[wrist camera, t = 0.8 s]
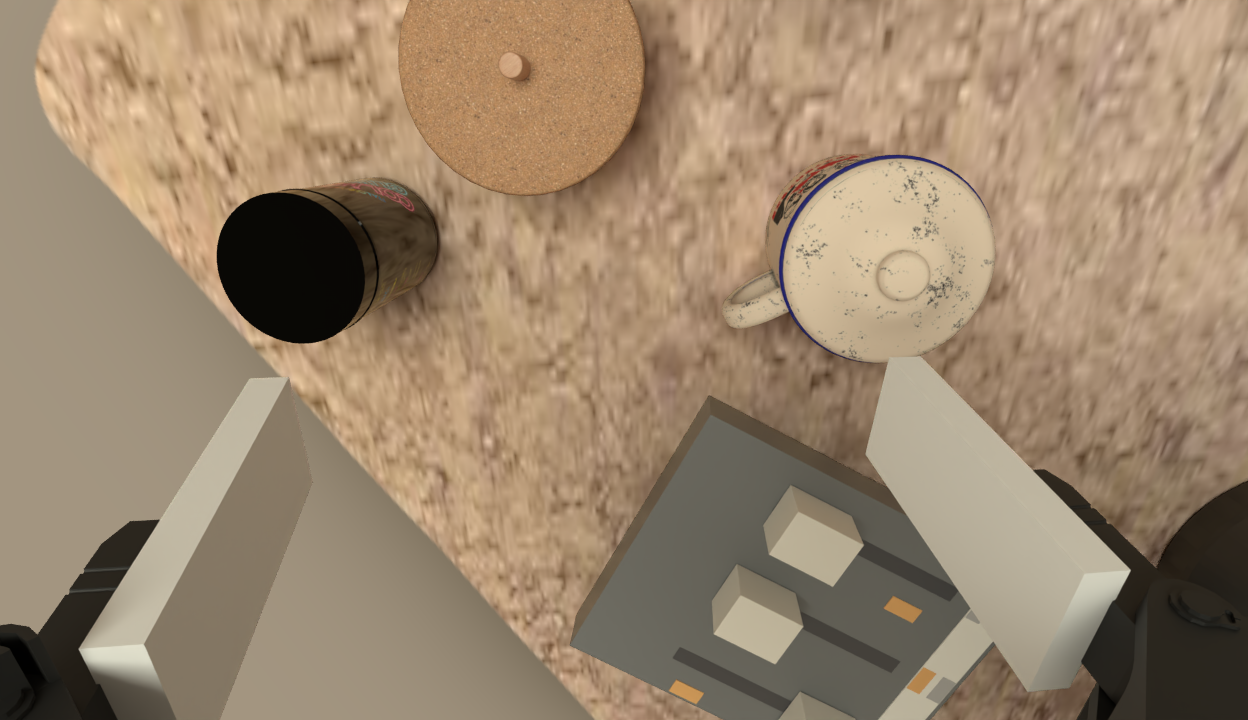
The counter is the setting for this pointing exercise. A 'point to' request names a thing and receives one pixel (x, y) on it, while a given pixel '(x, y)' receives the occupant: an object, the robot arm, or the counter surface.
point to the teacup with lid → (872, 257)
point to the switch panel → (832, 616)
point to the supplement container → (324, 255)
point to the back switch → (812, 710)
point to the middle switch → (756, 614)
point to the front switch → (812, 536)
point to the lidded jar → (522, 87)
